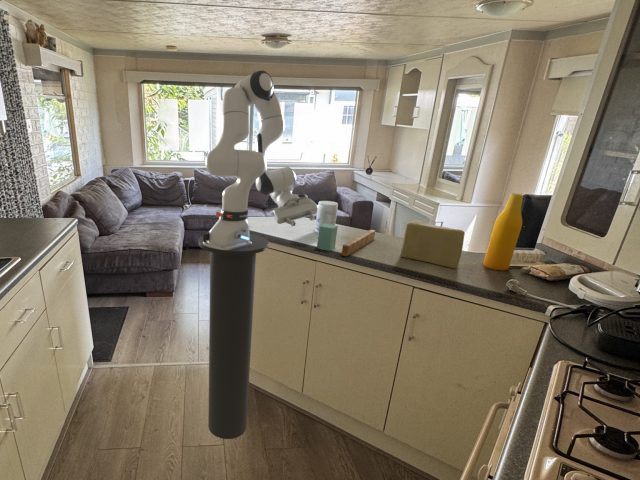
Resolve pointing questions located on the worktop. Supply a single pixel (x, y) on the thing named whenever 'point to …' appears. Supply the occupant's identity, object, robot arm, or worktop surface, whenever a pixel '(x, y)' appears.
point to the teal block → (327, 237)
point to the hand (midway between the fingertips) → (303, 221)
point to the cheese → (433, 244)
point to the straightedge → (358, 242)
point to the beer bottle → (505, 235)
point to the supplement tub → (326, 214)
